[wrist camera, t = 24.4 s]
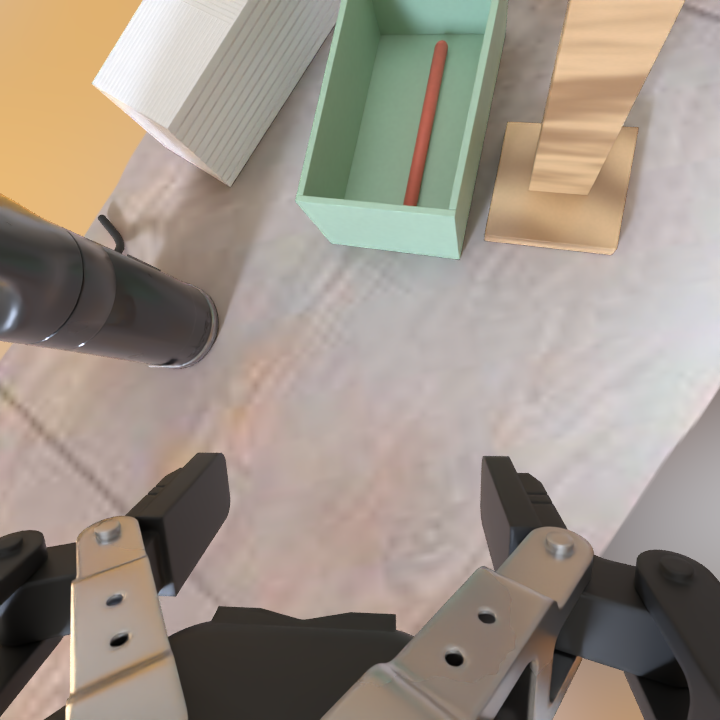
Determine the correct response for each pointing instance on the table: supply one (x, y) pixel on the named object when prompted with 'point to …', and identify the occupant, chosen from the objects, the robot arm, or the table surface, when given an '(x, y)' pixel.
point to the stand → (580, 131)
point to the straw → (426, 124)
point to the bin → (401, 123)
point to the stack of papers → (213, 72)
